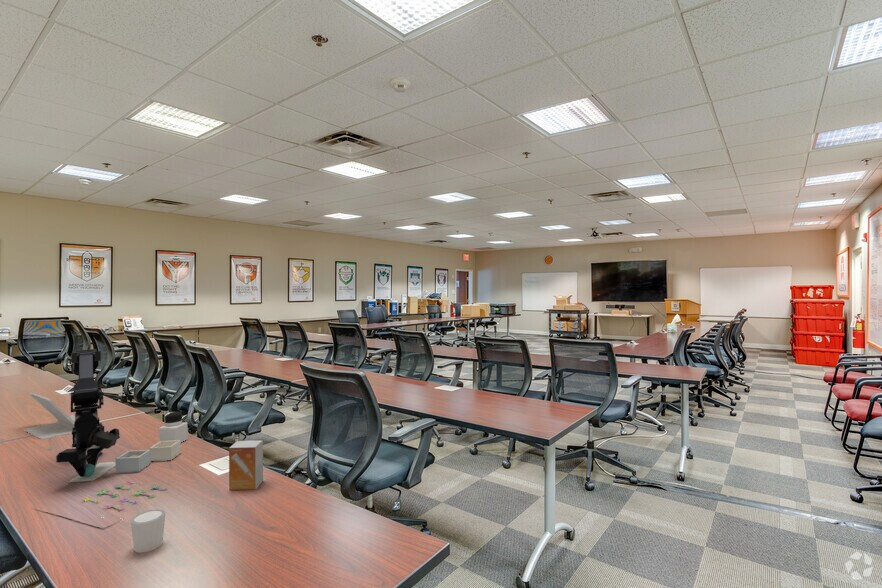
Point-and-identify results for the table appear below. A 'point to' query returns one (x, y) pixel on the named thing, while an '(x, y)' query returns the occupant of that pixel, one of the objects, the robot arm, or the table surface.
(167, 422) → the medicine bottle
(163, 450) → the open cream box
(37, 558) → the table surface
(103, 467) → the mat
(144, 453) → the grey open box
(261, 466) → the small box
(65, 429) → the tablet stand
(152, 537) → the white oval container
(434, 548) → the table surface
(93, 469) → the teal ball
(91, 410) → the robot arm
